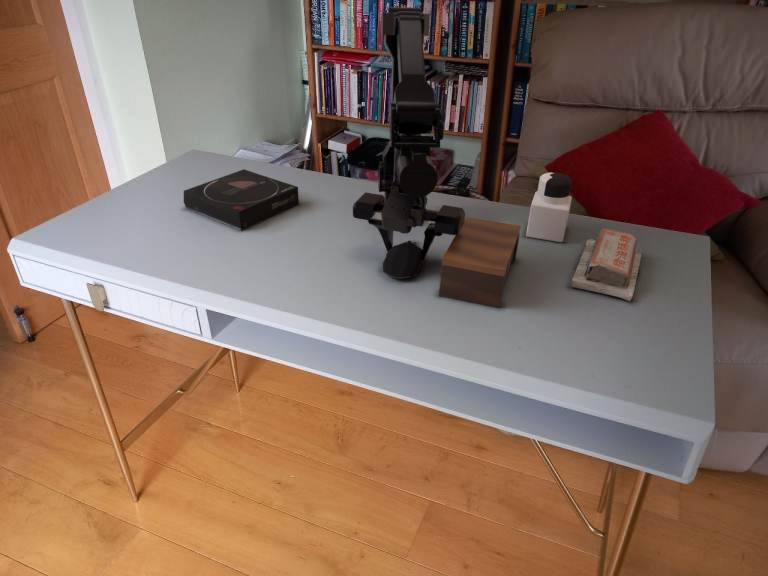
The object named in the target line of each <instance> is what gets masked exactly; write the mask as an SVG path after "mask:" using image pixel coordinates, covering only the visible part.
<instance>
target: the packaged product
mask: <svg viewBox="0 0 768 576" xmlns="http://www.w3.org/2000/svg"><path fill="white" fill-rule="evenodd" d="M637 239H638V238H637V237H636V236H634V235H633V234H631V233H629V232H624V231H620V230H616V229H609V228H601V230H600V231H599V234H598V236H597V239H596V240H595V239H594V238H588V239H587V240H586V244H585V247H584V249H583V251H582V253H581V256H580V259H579V261H578V264H577V267H576V269H575V270H574V271H575V272H574V274H573V276H572V279H571V288H576V289H580V290H586V291H590V292H594V293H599V294H603V295H608V296H613V297H615V298H620V299H623V300H626V301H628V302H631V300H632V298H633V296H634V292H635V290H636V289H635V288H636V284H637V278H638V273H639V268H640V264H641V260H642V256H643V255H642V254H643V251H642V250H638V249H637Z"/></svg>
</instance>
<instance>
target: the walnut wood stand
mask: <svg viewBox="0 0 768 576" xmlns="http://www.w3.org/2000/svg"><path fill="white" fill-rule="evenodd" d="M521 230H522V226H521V225H518V224H512V223H506V222H500V221H494V220H488V219H481V218H476V217H470V216H465V221H464V224H463V226H462V228H461V229H460V231H459V233H458V235H454V237H453V239H452V241H450V244H449V245H448V248H447V249H446V251H445V253H444V255H443V256H442V260H441V269H440V281H439V292H438V296H439V297H444V298H450V299H453V300H459V301H462V302H468V303H473V304H479V305H483V306H488V307H491V308H492V307H493V308H498V309H499V308H500V307H501V305H502V299H503V293H504V292H503V291H504V285H505V281H506V278H507V275H508V272H509V269H510V266H511V264H512V263H513V264H515V262H516V260H517V253H518V248H519V241H520V236H521V235H520V234H521Z"/></svg>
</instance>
